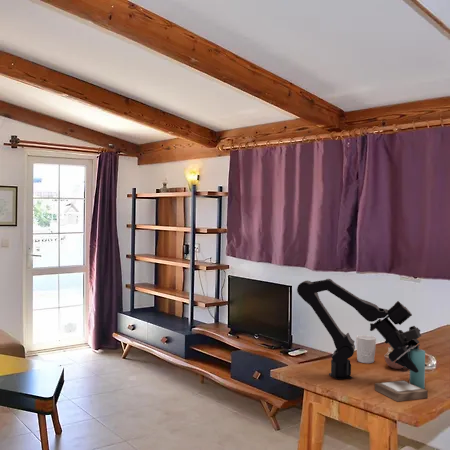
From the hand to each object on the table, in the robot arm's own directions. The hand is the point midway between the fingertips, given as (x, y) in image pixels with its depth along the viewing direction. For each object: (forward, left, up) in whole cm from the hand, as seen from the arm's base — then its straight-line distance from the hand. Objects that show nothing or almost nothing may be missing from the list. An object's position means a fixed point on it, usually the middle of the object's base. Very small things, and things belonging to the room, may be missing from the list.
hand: (421, 369), depth 185 cm
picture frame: (-11, -3, -7) cm, 13 cm away
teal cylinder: (-1, +1, -7) cm, 7 cm away
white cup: (+2, +36, -7) cm, 37 cm away
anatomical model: (+13, +29, -7) cm, 32 cm away
